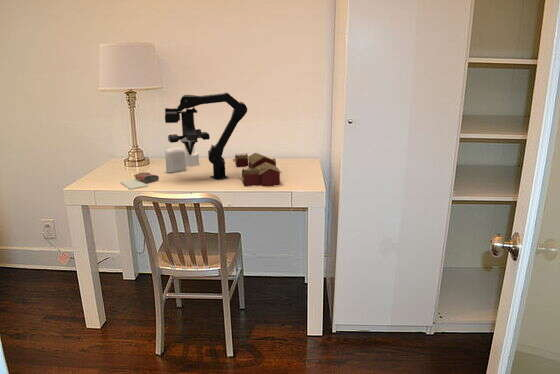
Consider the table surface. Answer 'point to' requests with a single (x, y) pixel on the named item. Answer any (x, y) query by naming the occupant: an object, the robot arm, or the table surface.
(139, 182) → the mat
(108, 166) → the table surface
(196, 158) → the base with upright slab
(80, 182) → the table surface
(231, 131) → the robot arm
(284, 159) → the table surface
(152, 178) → the lighter
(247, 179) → the toy houses
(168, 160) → the photo printer
